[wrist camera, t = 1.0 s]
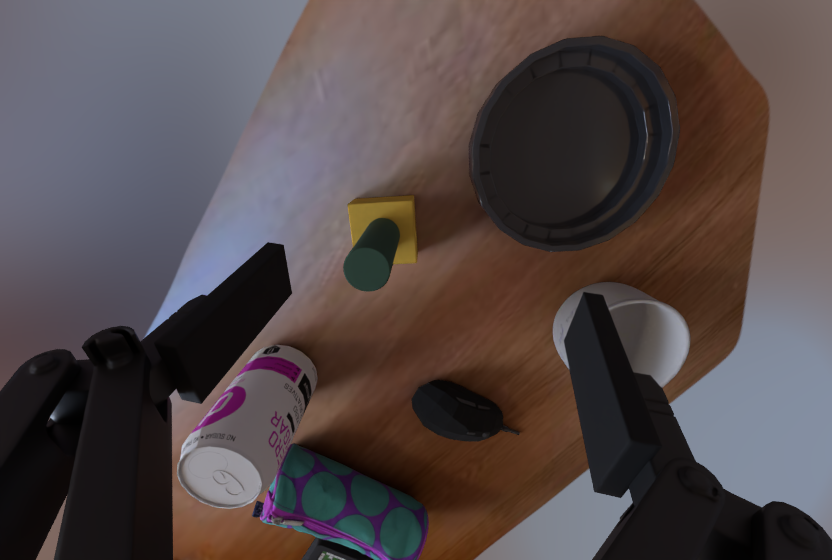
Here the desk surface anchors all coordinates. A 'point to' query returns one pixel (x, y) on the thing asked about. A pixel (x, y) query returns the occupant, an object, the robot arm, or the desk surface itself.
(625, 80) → the bowl
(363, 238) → the green peg on stand
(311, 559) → the digital display
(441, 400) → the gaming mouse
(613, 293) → the teacup
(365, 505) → the pencil case
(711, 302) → the desk surface
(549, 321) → the desk surface
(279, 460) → the supplement can
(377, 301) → the desk surface
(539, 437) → the desk surface
